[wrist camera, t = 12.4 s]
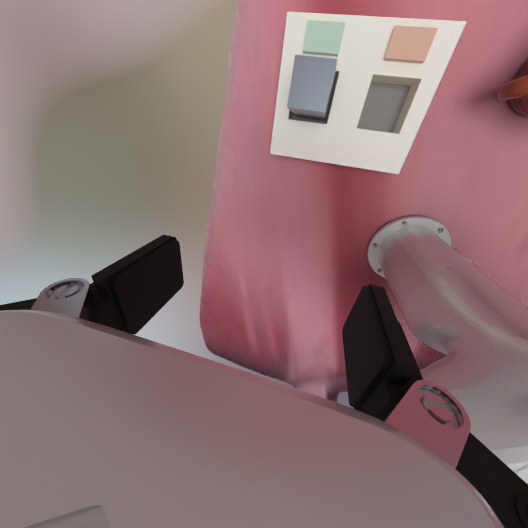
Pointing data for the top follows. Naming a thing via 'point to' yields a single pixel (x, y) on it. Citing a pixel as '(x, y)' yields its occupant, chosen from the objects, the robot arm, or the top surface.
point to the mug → (516, 92)
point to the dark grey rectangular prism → (311, 86)
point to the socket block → (363, 86)
